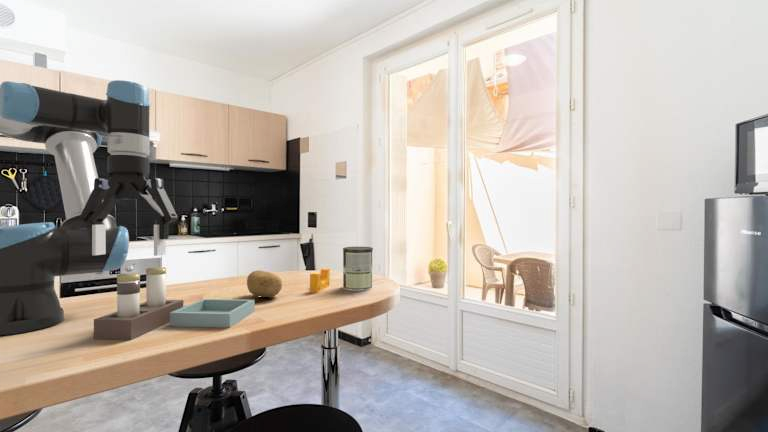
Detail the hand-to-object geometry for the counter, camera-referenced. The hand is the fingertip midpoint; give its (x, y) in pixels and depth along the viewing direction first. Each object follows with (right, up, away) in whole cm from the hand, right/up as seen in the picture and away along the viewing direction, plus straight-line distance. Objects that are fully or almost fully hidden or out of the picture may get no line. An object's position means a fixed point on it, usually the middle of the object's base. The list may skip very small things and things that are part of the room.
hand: (129, 255), depth 81 cm
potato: (+18, -17, +35) cm, 43 cm away
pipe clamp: (+32, -17, +47) cm, 60 cm away
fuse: (0, -16, +9) cm, 19 cm away
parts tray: (+13, -17, +11) cm, 24 cm away
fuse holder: (0, -17, +5) cm, 17 cm away
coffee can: (+46, -17, +50) cm, 70 cm away
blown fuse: (0, -16, 0) cm, 16 cm away
